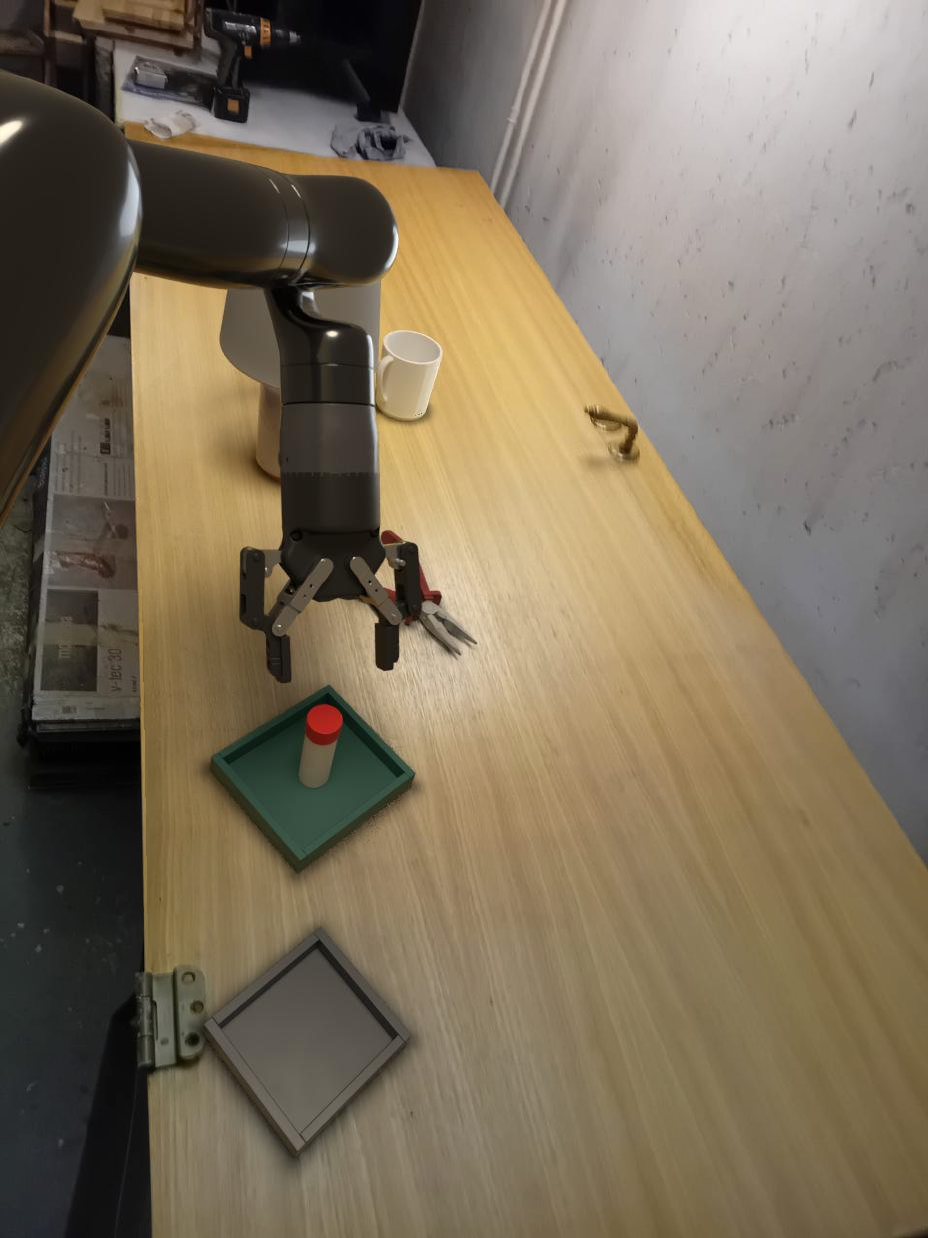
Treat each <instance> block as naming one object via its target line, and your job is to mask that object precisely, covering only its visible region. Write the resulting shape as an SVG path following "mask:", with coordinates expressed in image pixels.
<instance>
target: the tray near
mask: <svg viewBox="0 0 928 1238" xmlns="http://www.w3.org/2000/svg"><path fill="white" fill-rule="evenodd" d="M202 1033H203V1036H204V1037H205V1039H207V1041H208V1042H209V1044H210V1045H211V1046H212V1048H213V1049H214V1050H215V1052H216V1053H217V1055H218V1056H219V1058H221V1060H222V1062H223V1063H224V1064H225V1065H226V1067H227V1068H228V1070H229V1071H230V1073H232V1075H233V1077H235V1079H236V1081H237V1082H238V1083H239V1084H240V1087H242V1089H243V1090H244V1091H245V1093H246V1094H247V1096H248V1097H249V1098H250V1099H251V1101H252V1102H253V1104H254V1106H255V1107H256V1108H257V1110H258V1111H259V1112H260V1113H261V1115H262V1116H263V1117H264V1119H265V1120H266V1121H267V1123H268V1124H269V1125H270V1127H271V1128H272V1130H273V1131H274V1132H275V1134H276V1135H277V1136H278V1138H279V1139H280V1140H281V1143H283V1145H284V1146H285V1147H286V1148H287V1150H288V1151H289V1153H290V1154H291V1155H292V1157H293V1158H294V1159H295V1158H297V1157H298V1155H299V1154H300V1153H301V1152H302V1151H303V1150H305V1148H306V1147H307V1146H308V1145H309V1144H310V1143H311V1142H312V1141H313V1140H315V1138H316V1137H317V1136H318V1135H319V1134H320V1133H321V1132H322V1131H323V1130H324V1129H325V1128H326V1127H327V1126H328V1125H329V1124H330V1123H331V1122H332V1121H333V1120H334V1119H335V1118H336V1117H337V1115H338V1114H340V1112H341V1111H343V1109H344V1108H346V1106H347V1105H348V1104H349V1103H350V1102H351V1101H352V1100H354V1099H355V1097H356V1096H357V1095H358V1094H359V1093H361V1091H362V1090H363V1089H364V1088H365V1087H366V1086H367V1085H368V1084H369V1083H370V1082H371V1081H372V1080H373V1078H375V1076H377V1075H378V1073H379V1072H380V1071H381V1070H382V1069H383V1068H384V1067H385V1066H386V1065H387V1064H388V1063H390V1061H391V1060H392V1059H393V1058H394V1057H395V1056H396V1055H397V1054H398V1053H399V1052H400V1051H401V1050H402V1049H403V1048H404V1047H405V1046H406V1045H407V1043H409V1040H410V1039H411V1038H412V1036H413V1034H412V1033H411V1031H410V1030H409V1029H408V1028H407V1026H405V1025H404V1023H403V1022H402V1021H401V1020H400V1018H399V1017H397V1015H396V1014H395V1013H394V1011H393V1010H392V1009H391V1008H390V1007H389V1006H388V1004H387V1003H386V1001H384V1000H383V999H382V997H381V996H380V995H379V994H378V992H377V991H376V990H375V989H374V987H373V986H371V984H370V983H369V981H367V979H366V978H365V977H364V976H363V975H362V973H361V971H359V970H358V968H357V967H356V966H355V965H354V964H353V963H352V961H351V960H350V959H349V957H347V956H346V954H344V951H342V949H341V948H340V947H339V946H338V945H337V944H336V943H335V941H334V940H333V939H332V937H331V936H330V935H329V934H328V933H327V932H326V931H325V929H324V928H323V927H322V926H319V927H318V928H317V929H316V930H315V931H313V932H312V933H311V934H309V935H308V936H307V937H306V938H304V939H303V940H302V941H301V942H300V943H298V944H297V945H296V946H295V947H294V948H293V949H291V950H290V951H289V952H287V954H285V955H284V956H283V957H282V958H281V959H279V960H278V961H276V963H274V965H272V966H271V967H270V968H269V969H267V970H266V971H265V972H264V973H262V974H261V975H260V976H259V977H257V978H256V979H255V980H254V981H253V982H252V983H251V984H249V985H248V986H247V987H246V988H244V989H243V990H242V991H241V992H239V993H238V994H237V995H236V996H235V997H233V998H232V999H231V1000H230V1001H228V1003H226V1004H225V1005H224V1006H223V1007H222V1008H220V1009H219V1010H218V1011H217V1012H215V1014H213V1015H212V1016H211V1017H210V1018H209V1019H207V1020H206V1021H205V1022H204V1023H203V1031H202Z"/></svg>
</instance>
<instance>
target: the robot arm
mask: <svg viewBox="0 0 928 1238" xmlns="http://www.w3.org/2000/svg"><path fill="white" fill-rule="evenodd" d="M396 217H397V216H396V215H395V212H394V210H393V207H392V206H391V203H390V202H389V201H388V199H387V198H386V196H385V195H384V194H383V192H381V190H380V189H379V188H378V187H376V186H375V185H374V184H373V183H371V182H369V181H367V180H366V179H363V178H360V177H357V176H350V175H338V174H337V175H335V174H292V173H285V172H280V171H278V170H274V169H272V168H269V167H265V166H261V165H257V164H253V163H250V162H247V161H242V160H238V159H233V158H228V157H223V156H218V155H214V154H210V153H204V152H199V151H194V150H188V149H184V148H179V147H174V146H168V145H163V144H158V143H153V142H148V141H144V140H139V139H133V138H130V137H126V136H125V134H124V133H123V132H122V130H121V129H120V127H119V126H118V125H117V124H115V122H113V121H112V120H111V118H110V117H108V116H107V114H104V112H102V111H101V110H100V109H98V108H97V107H94V106H93V105H91V104H90V103H88V102H85V101H84V100H83V99H80V98H79V97H76V96H74V95H72V94H69V93H67V92H65V91H62V90H61V89H59V88H55V87H53V86H51V85H48V84H45V83H43V82H40V81H37V80H35V79H32V78H30V77H25V76H21V75H18V74H16V73H14V72H12V71H8V70H6V69H3V68H0V534H1V532H2V530H3V529H4V526H5V523H6V522H7V519H8V518H9V515H10V513H11V511H12V509H13V506H14V504H15V503H16V501H17V498H18V496H19V494H20V492H21V490H22V488H23V486H24V484H25V483H26V481H27V479H28V477H29V475H30V473H31V472H32V470H33V468H34V466H35V464H36V462H37V461H38V460H39V457H40V455H41V454H42V452H43V450H44V448H45V446H46V444H47V443H48V441H49V439H50V437H51V435H52V434H53V432H54V430H55V429H56V426H57V425H58V423H59V421H60V419H61V418H62V416H63V414H64V412H65V410H66V409H67V408H68V406H69V403H70V401H71V399H72V398H73V396H74V394H75V393H76V391H77V389H78V387H79V386H80V383H81V381H83V378H84V377H85V375H86V373H87V371H88V370H89V367H90V366H91V364H92V362H93V360H94V358H95V356H96V354H97V352H98V351H99V348H100V347H101V345H102V343H103V342H104V340H105V338H106V336H107V333H108V332H109V330H110V329H111V327H112V324H113V322H114V320H115V318H116V316H117V314H118V311H119V310H120V307H121V305H122V302H123V301H124V298H125V295H126V293H127V291H128V288H129V285H130V282H131V279H132V277H133V274H138V275H139V274H140V275H145V276H149V277H154V278H158V279H163V280H167V281H172V282H177V283H182V284H186V285H191V286H196V287H201V288H207V289H214V290H226V291H227V290H263V293H264V296H265V300H266V303H267V307H268V311H269V315H270V318H271V322H272V326H273V330H274V333H275V337H276V341H277V346H278V350H279V367H280V395H281V405H282V406H281V417H280V427H279V453H278V465H279V467H280V481H279V486H280V513H281V515H280V516H281V533H282V537H281V541H280V544H279V547H278V549H260V548H255V547H252V546H244V547H242V548H241V550H240V552H239V589H238V590H239V594H238V595H239V596H238V597H239V600H238V603H239V605H238V613H239V614H238V619H239V622H240V623H241V624H243V625H244V626H245V627H247V628H249V629H250V630H253V631H258V632H263V634H264V638H265V639H264V641H265V662H266V669H267V671H268V673H269V674H270V675H271V676H272V677H274V678H275V680H276V682H278V683H279V684H281V685H283V684H284V685H285V684H291V683H292V681H293V680H292V651H291V650H292V649H291V636H290V635H288V634H287V632H289V629H290V628H291V626H292V625H293V624H294V623H295V621H296V620H297V618H298V616H299V615H300V614H302V613H303V612H304V611H305V610H306V608H307V607H308V605H309V604H310V602H311V601H314V602H317V603H329V602H332V601H334V600H338V599H340V600H345V601H354V600H355V601H357V600H358V598H359V597H360V598H359V599H361V600H362V601H363V602H364V603H366V605H367V607H368V608H370V610H371V611H372V613H373V614H374V615H375V616H376V618H378V620H377V621H378V622H374V663H375V667H376V669H379V670H380V671H383V672H389V671H390V672H391V671H393V670H394V668H395V664H397V663H398V661H399V659H400V625H401V623H402V622H403V621H405V619H406V618H407V617H409V616H412V615H414V616H416V615H418V614H420V612H421V610H422V599H421V584H420V568H419V562H420V555H419V554H420V553H419V547H418V545H417V544H416V542H411V541H408V540H404V541H401V540H398V541H395V542H394V543H393V544H384V545H383V543H382V541H381V533H380V531H381V525H382V523H381V520H382V519H381V471H380V465H381V464H380V463H381V462H380V435H379V428H378V422H377V414H376V413H377V411H376V373H375V371H374V370H375V358H374V345H373V340H372V337H371V335H370V334H369V332H368V331H367V330H366V329H364V328H363V327H361V326H359V325H356V324H353V323H349V322H344V321H339V320H333V319H327V318H323V316H322V315H321V313H320V311H319V309H318V306H317V304H316V300H315V290H328V289H343V288H358V287H366V286H370V285H373V284H375V283H377V282H379V281H380V280H381V281H382V280H383V279H384V278H385V277H386V275H388V273H389V272H390V270H391V269H392V267H393V265H394V263H395V262H396V257H397V255H398V250H399V243H400V234H399V233H400V232H399V225H398V222H397V221H398V220H397V218H396ZM385 560H387V564H388V566H389V567H390V568H391V569H393V580H394V591H395V595H396V602H394V603H393V602H392V601H391V599H390V598H389V594H388V593H387V591H386V590H385V589H384V587H385V586H383V585H382V584H381V582H380V581H379V580H378V578H377V577H376V574H377V573H378V571H379V570H380V568H381V566H382V565H383V563H384V562H385ZM276 565H279V567H280V568H281V569H282V571H283V572H284V573H285V575H287V577H288V580H287V581H286V583H285V584H284V586H283V587H282V589H281V590H280V591H279V593H278V594H277V596H276V601H275V603H274V604H273V605H272V607H271V608H270V610H269V611H268V613H267V614H265V589H266V588H265V586H266V585H265V583H266V581H265V580H266V579H267V578H270V577H271V576H272V574H273V570H274V567H275V566H276Z"/></svg>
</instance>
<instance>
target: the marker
mask: <svg viewBox="0 0 928 1238" xmlns="http://www.w3.org/2000/svg"><path fill="white" fill-rule="evenodd" d="M342 721H343V719H342V715H341V713H340V712H339V710H337V709H336V708H335V707H333V706H330V705H318V706H315V707H314V708H312V709H311V710H310V711H309V713H308V715H307V721H306V727H305V739H304V745H303V750H302V756H301V762H300V767H299V774H298V775H299V779H300V781H301V782H302V783H303V784H304V785H305V786H307V787H310V788H318V787H321V786H323V785H324V784H325V783H326V782H327V780H328V778H329V774H330V769H331V765H332V761H333V756H334V752H335V747H336V743H337V739H338V737H339V735H340V730H341V726H342Z"/></svg>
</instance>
